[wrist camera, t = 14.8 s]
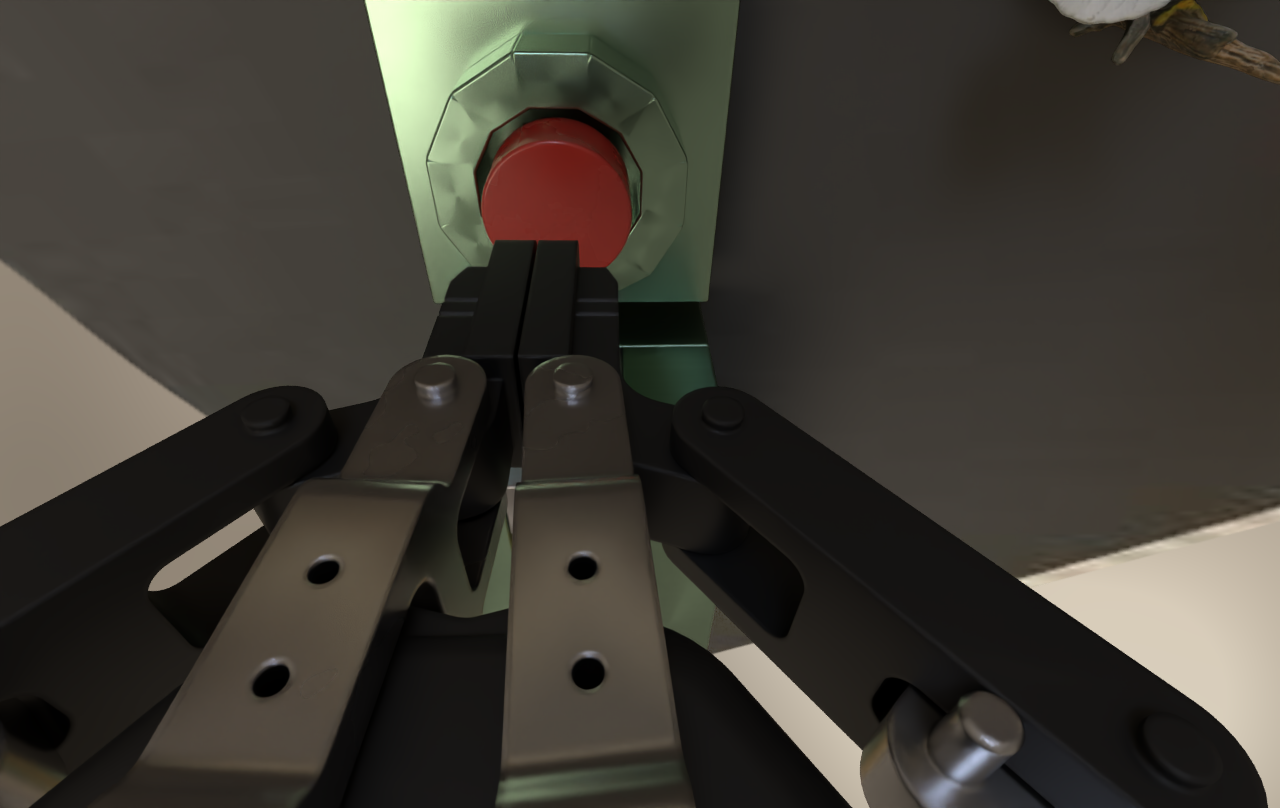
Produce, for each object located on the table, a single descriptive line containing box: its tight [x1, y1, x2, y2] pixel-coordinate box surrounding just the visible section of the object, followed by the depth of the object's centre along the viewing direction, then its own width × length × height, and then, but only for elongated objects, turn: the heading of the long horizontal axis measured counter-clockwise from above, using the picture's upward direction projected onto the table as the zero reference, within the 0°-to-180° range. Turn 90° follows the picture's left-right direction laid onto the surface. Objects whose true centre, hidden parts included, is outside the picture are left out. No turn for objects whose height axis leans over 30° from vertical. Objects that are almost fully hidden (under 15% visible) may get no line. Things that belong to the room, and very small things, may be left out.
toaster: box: [482, 302, 718, 650], centre depth 24 cm, size 14×9×10 cm, turn 179°
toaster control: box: [363, 0, 740, 304], centre depth 18 cm, size 9×9×5 cm
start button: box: [481, 117, 632, 267], centre depth 15 cm, size 4×4×2 cm
